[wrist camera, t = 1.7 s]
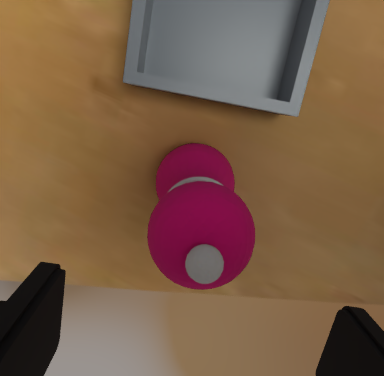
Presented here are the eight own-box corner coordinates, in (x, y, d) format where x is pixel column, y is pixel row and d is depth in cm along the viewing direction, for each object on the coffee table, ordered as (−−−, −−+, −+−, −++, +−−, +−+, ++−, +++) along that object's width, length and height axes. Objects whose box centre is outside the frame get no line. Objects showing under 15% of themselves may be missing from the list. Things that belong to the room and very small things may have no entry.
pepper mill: (163, 133, 31) (128, 183, 12) (233, 143, 32) (306, 205, 13) (156, 200, 33) (116, 335, 14) (222, 208, 34) (270, 349, 14)
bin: (324, -57, 27) (354, -91, 22) (280, 114, 31) (297, 116, 26) (156, -98, 26) (150, -142, 21) (132, 85, 30) (122, 82, 25)
